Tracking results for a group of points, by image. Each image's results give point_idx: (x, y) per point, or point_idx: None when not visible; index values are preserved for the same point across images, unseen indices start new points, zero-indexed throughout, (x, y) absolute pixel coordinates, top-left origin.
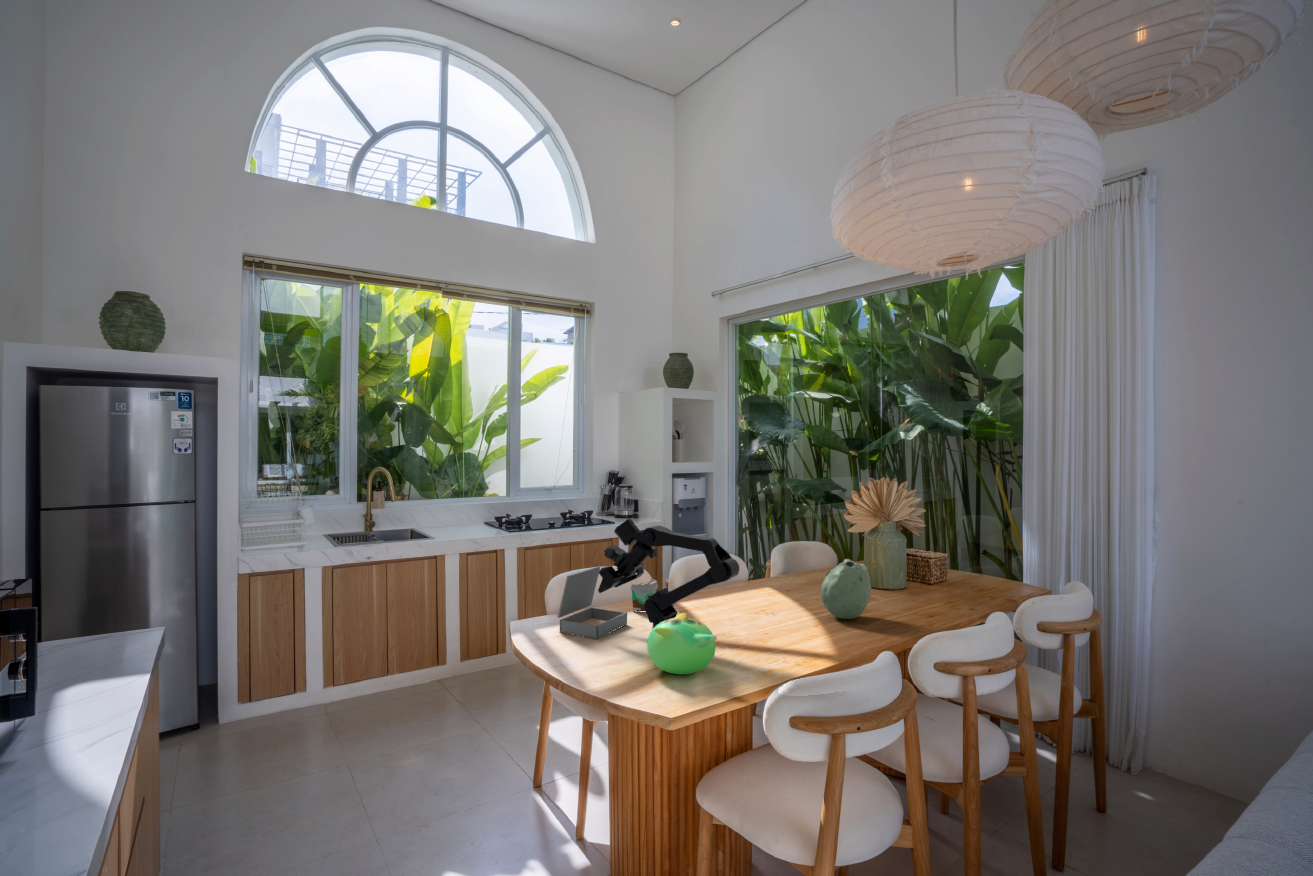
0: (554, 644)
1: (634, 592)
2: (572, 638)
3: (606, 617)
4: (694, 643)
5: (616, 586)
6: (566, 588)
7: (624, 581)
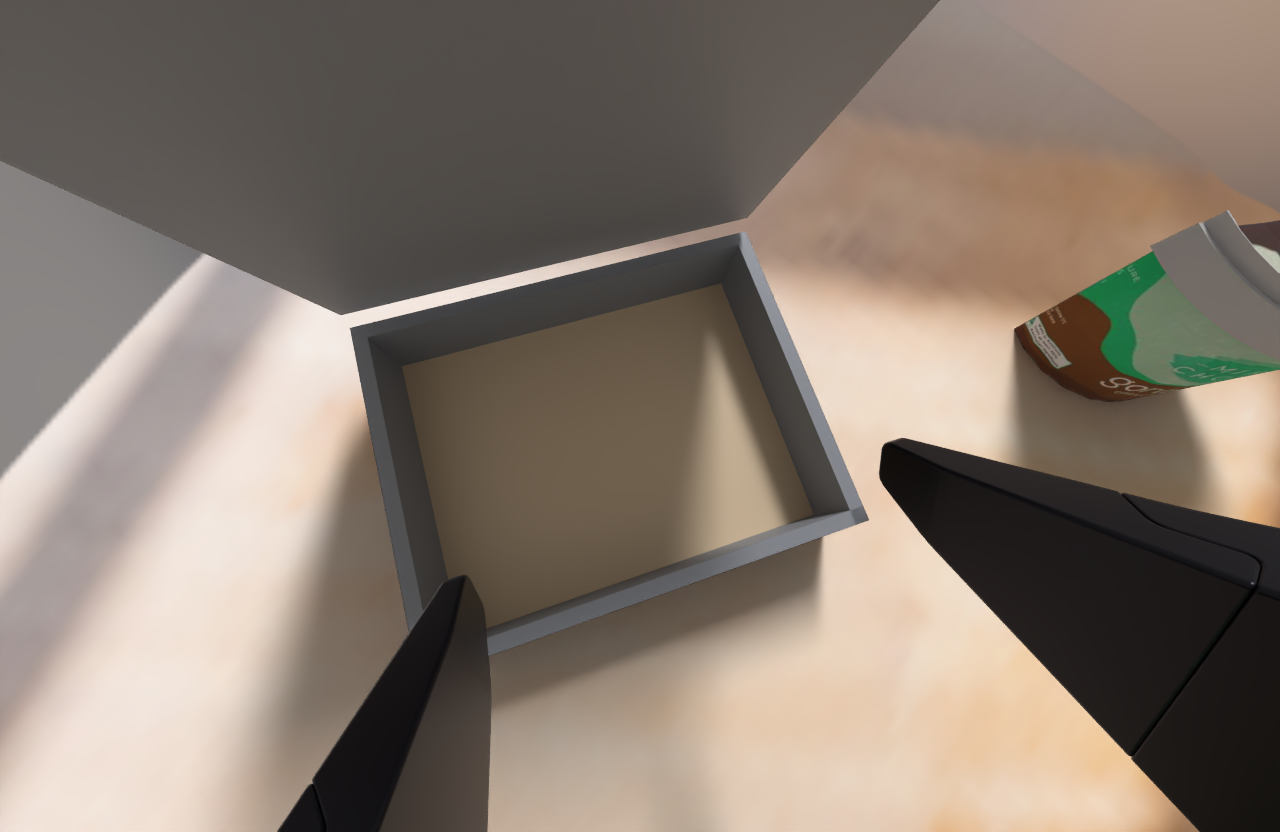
0: (184, 538)
1: (1157, 278)
2: (361, 513)
3: (765, 374)
4: None
5: (900, 497)
6: (114, 200)
7: (1070, 659)
